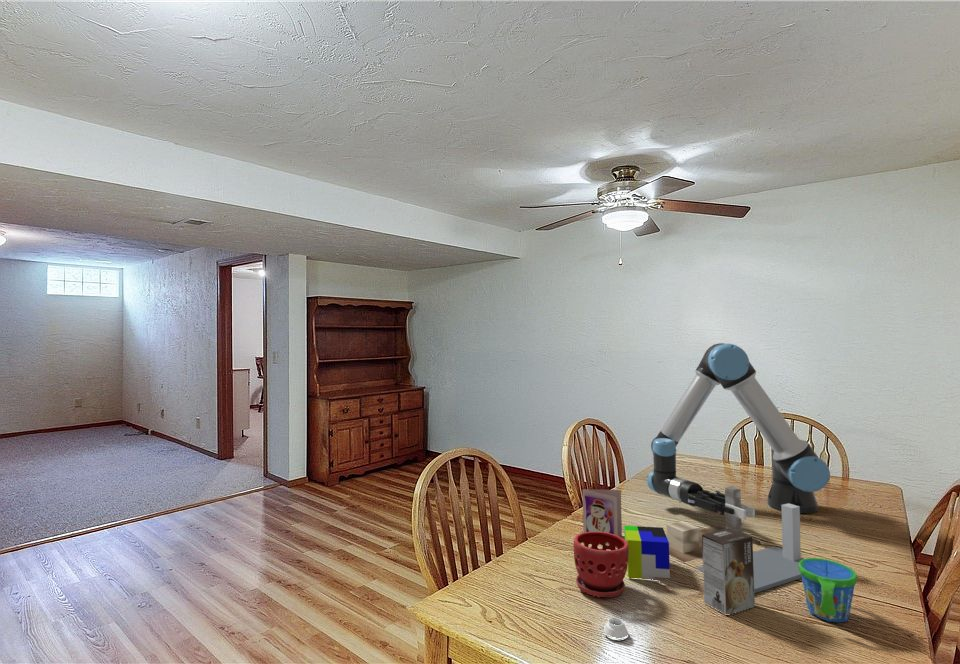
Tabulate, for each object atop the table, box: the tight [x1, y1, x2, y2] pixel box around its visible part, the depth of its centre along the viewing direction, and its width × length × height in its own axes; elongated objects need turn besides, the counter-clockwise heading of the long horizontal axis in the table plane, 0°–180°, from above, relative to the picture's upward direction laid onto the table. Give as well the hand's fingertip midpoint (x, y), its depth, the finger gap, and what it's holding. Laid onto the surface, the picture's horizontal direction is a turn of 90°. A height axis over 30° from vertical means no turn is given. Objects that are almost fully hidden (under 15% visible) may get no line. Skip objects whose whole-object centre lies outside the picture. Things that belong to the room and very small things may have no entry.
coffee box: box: [702, 528, 756, 615], centre depth 115 cm, size 9×6×16 cm
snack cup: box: [799, 557, 858, 623], centre depth 110 cm, size 16×10×10 cm
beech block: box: [666, 520, 700, 553], centre depth 144 cm, size 6×6×6 cm
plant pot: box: [573, 532, 629, 598], centre depth 124 cm, size 13×13×12 cm
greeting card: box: [582, 488, 623, 537], centre depth 152 cm, size 11×7×15 cm, turn 47°
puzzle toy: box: [624, 525, 671, 580], centre depth 132 cm, size 10×10×10 cm
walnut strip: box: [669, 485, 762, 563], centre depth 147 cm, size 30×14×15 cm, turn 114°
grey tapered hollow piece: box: [603, 617, 629, 638], centre depth 104 cm, size 5×3×5 cm
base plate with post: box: [695, 503, 805, 594], centre depth 131 cm, size 30×14×15 cm, turn 114°
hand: (749, 513), depth 147 cm, fingers closed on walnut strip, 3 cm apart
